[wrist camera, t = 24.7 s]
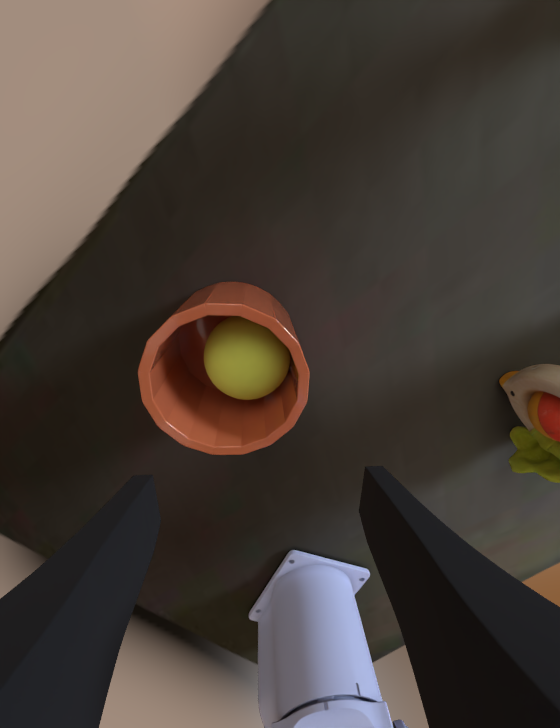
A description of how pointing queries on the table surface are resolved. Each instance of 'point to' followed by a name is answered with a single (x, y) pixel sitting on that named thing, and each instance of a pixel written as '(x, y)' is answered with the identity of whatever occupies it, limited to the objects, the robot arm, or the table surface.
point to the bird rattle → (535, 419)
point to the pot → (194, 387)
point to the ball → (245, 359)
